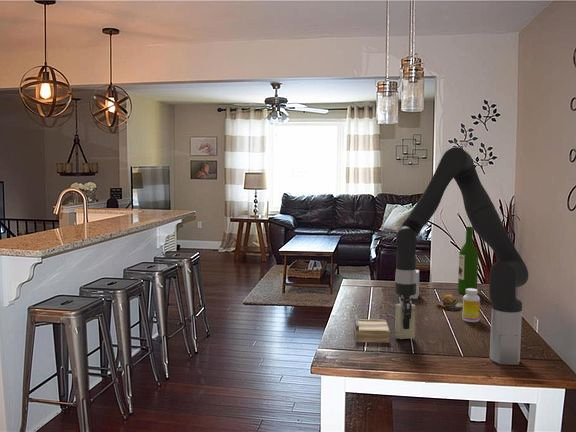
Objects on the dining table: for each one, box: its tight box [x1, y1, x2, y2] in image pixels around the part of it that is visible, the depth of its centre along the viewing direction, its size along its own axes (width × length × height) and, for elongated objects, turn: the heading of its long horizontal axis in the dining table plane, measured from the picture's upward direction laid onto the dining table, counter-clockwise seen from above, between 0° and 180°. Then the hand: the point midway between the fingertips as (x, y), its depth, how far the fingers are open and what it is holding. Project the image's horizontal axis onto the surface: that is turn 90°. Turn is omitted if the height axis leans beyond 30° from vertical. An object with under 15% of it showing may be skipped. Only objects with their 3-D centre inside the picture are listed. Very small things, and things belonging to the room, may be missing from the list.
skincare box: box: [394, 303, 417, 340], centre depth 200 cm, size 6×4×12 cm
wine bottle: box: [457, 226, 479, 295], centre depth 268 cm, size 9×9×32 cm
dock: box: [353, 314, 391, 344], centre depth 204 cm, size 14×12×6 cm
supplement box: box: [410, 269, 420, 300], centre depth 262 cm, size 7×7×13 cm
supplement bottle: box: [461, 288, 481, 323], centre depth 223 cm, size 7×7×13 cm
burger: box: [436, 292, 463, 312], centre depth 244 cm, size 12×12×8 cm
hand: (405, 326), depth 201 cm, fingers closed on skincare box, 5 cm apart
